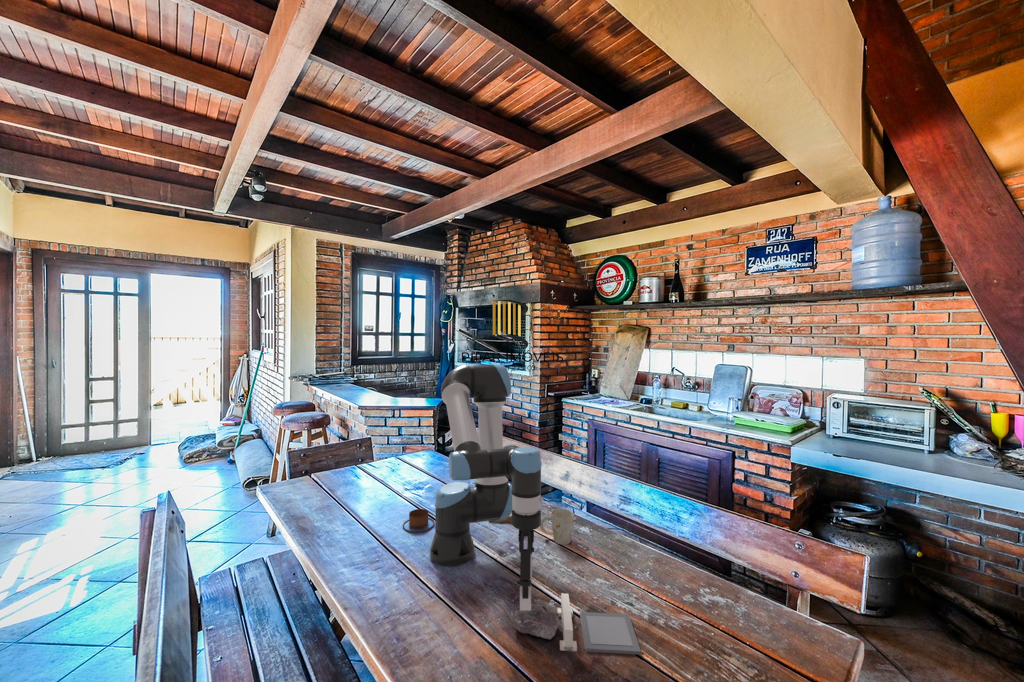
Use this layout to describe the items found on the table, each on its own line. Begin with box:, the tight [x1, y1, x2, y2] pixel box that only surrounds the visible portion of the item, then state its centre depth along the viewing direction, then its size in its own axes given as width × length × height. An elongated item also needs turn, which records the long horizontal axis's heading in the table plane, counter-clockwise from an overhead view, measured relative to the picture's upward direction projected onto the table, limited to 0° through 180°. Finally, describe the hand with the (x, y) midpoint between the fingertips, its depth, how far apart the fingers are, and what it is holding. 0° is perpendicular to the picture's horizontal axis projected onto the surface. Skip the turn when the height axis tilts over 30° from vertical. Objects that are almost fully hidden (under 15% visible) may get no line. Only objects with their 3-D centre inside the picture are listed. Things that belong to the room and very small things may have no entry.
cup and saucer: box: [402, 508, 435, 534], centre depth 161 cm, size 12×12×6 cm
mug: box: [539, 508, 575, 545], centre depth 152 cm, size 8×13×10 cm, turn 78°
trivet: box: [579, 611, 642, 656], centre depth 104 cm, size 13×13×1 cm
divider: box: [556, 592, 578, 652], centre depth 105 cm, size 4×14×5 cm, turn 176°
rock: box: [512, 604, 560, 640], centre depth 105 cm, size 8×11×5 cm
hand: (526, 592), depth 106 cm, fingers open, 13 cm apart
